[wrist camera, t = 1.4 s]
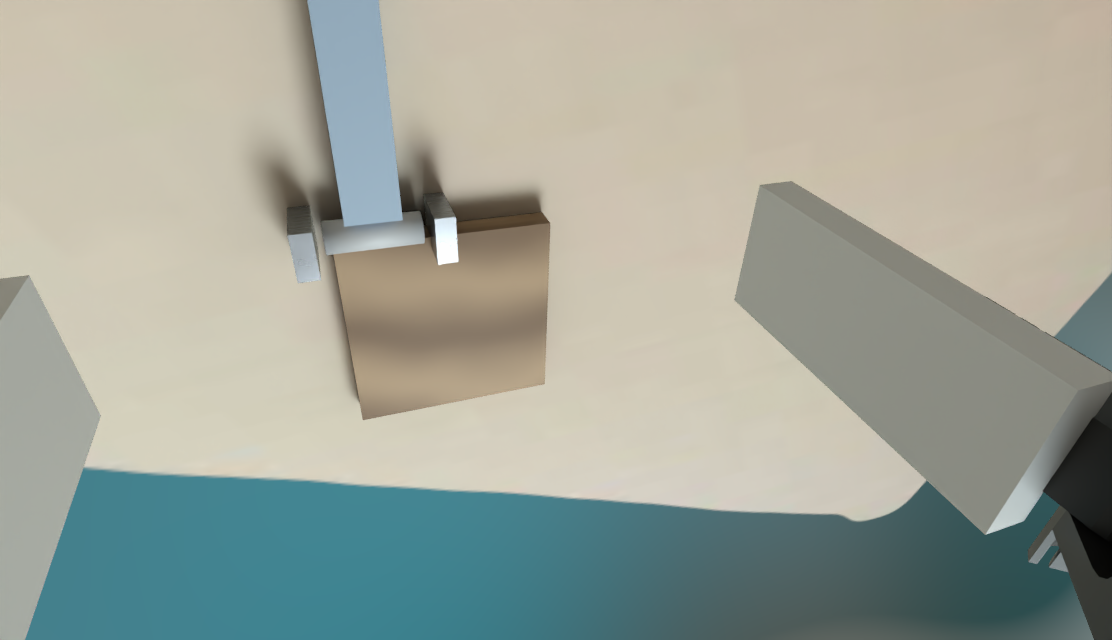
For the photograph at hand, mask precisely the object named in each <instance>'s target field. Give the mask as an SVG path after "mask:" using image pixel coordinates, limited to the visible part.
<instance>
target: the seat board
mask: <svg viewBox="0 0 1112 640" xmlns="http://www.w3.org/2000/svg"><path fill="white" fill-rule="evenodd" d="M456 228H457V246H458V262H454V263H446V264H439V265H438V263H437V261H436V258H435V256H434V253H433V251H432V244H431V236H430V234H429V231H428V229H427V227H426V226H424V234H425V243H423V244H415V245H406V246H398V247H390V248H382V249H374V250H365V251H357V252H349V253H341V254H333V255H334V261H335V266H336V272H337V278H338V283H339V289H340V294H341V300H342V306H343V311H344V317H345V322H346V328H347V334H348V339H349V345H350V350H351V356H352V362H353V367H354V373H355V378H356V384H357V390H358V395H359V401H360V406H361V412H362V418H363V420H366V419H371V418H376V417H381V416H386V415H391V414H396V413H401V412H406V411H411V410H416V409H421V408H426V407H431V406H436V405H442V404H447V403H452V402H457V401H462V400H467V399H472V398H477V397H482V396H487V395H492V394H497V393H502V392H507V391H512V390H517V389H522V388H527V387H532V386H537V385H542V384H545V358H546V329H547V301H548V272H549V244H550V222H549V221H548V220H547V218H546V217H545V216H544V215H543V213H542V212H541V213H532V214H523V215H514V216H505V217H497V218H488V219H479V220H470V221H461V222H456Z"/></svg>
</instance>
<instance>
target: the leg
mask: <svg viewBox="0 0 1112 640" xmlns="http://www.w3.org/2000/svg"><path fill="white" fill-rule="evenodd" d="M307 3H308V9H309V15H310V21H311V27H312V33H313V40H314V46H315V52H316V58H317V64H318V70H319V76H320V82H321V88H322V95H323V101H324V107H325V113H326V119H327V125H328V131H329V137H330V144H331V150H332V156H333V162H334V168H335V174H336V180H337V186H338V192H339V199H340V205H341V210H342V216H343V219H337V220H328V221H321V227H322V234H323V240H324V245H325V250H326V255H332V254H341V253H349V252H357V251H365V250H374V249H382V248H390V247H398V246H406V245H415V244H423V243H425V234H424V226H423V220H422V216H421V213H420V211H413V212H403V213H402V208H401V199H400V190H399V181H398V172H397V163H396V154H395V145H394V136H393V127H392V118H391V109H390V100H389V91H388V82H387V73H386V64H385V55H384V46H383V37H382V28H381V19H380V10H379V1H378V0H307Z"/></svg>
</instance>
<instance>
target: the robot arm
mask: <svg viewBox="0 0 1112 640" xmlns="http://www.w3.org/2000/svg"><path fill="white" fill-rule="evenodd" d="M735 301H736V302H737V303H738V304H739V305H740V306H741V307H742V308H743V309H744V310H745V311H747V312H748V313H749V314H750V315H751V316H752V317H753V318H754V319H755V320H756V321H757V322H758V323H759V324H760V325H762V326H763V327H764V328H765V329H766V330H767V331H768V332H769V333H770V334H771V335H772V336H773V337H774V338H775V339H777V340H778V341H779V342H780V343H781V344H782V345H783V346H784V347H785V348H786V349H787V350H788V351H789V352H790V353H791V354H793V355H794V356H795V357H796V358H797V359H798V360H799V361H800V362H801V363H802V364H803V365H804V366H805V367H806V368H808V369H809V370H810V371H811V372H812V373H813V374H814V375H815V376H816V377H817V378H818V379H819V380H820V381H821V382H822V383H824V384H825V385H826V386H827V387H828V388H829V389H830V390H831V391H832V392H833V393H834V394H835V395H836V396H837V397H839V398H840V399H841V400H842V401H843V402H844V403H845V404H846V405H847V406H848V407H849V408H850V409H851V410H852V411H853V412H855V413H856V414H857V415H858V416H859V417H860V418H861V419H862V420H863V421H864V422H865V423H866V424H867V425H868V426H870V427H871V428H872V429H873V430H874V431H875V432H876V433H877V434H878V435H879V436H880V437H881V438H882V439H883V440H885V441H886V442H887V443H888V444H889V445H890V446H891V447H892V448H893V449H894V450H895V451H896V452H897V453H898V454H899V455H901V456H902V457H903V458H904V459H905V460H906V461H907V462H908V463H909V464H910V465H911V466H912V467H913V468H914V469H916V470H917V471H918V472H919V473H920V474H921V475H922V476H923V477H924V478H925V479H926V480H927V481H928V482H929V483H930V484H932V485H933V486H934V487H935V488H936V489H937V490H938V491H939V492H940V493H941V494H942V495H943V496H944V497H945V498H947V499H948V500H949V501H950V502H951V503H952V504H953V505H954V506H955V507H956V508H957V509H958V510H959V511H961V512H962V513H963V514H964V515H965V516H966V517H967V518H968V519H969V520H970V521H971V522H972V523H973V524H974V525H976V527H978V528H979V529H980V530H981V531H982V532H983V533H984V534H985V535H986V534H989V533H991V532H994V531H997V530H1000V529H1003V528H1005V527H1008V526H1011V525H1014V524H1017V523H1020V522H1023V521H1024V520H1025V518H1026V517H1027V515H1028V514H1029V512H1030V511H1031V509H1032V508H1033V507H1034V505H1035V503H1036V502H1037V501H1038V499H1039V498H1040V496H1041V495H1042V493H1043V492H1045V493H1046V494H1047V495H1048V496H1049V497H1051V498H1052V499H1053V500H1054V501H1056V502H1057V503H1058V504H1059V505H1060V506H1059V507H1058V509H1057V510H1056V512H1055V513H1054V514H1053V516H1052V517H1051V519H1050V520H1049V522H1048V523H1047V524H1046V526H1045V527H1044V529H1043V530H1042V531H1041V533H1040V534H1039V535H1038V537H1037V538H1036V539H1035V541H1034V542H1033V544H1032V545H1031V547H1030V548H1029V549H1028V561H1029V562H1032V563H1035V564H1037V563H1038V562H1039V560H1040V559H1041V558H1042V557H1043V555H1044V554H1045V553H1046V551H1047V550H1048V548H1049V547H1050V546H1059V550H1058V551H1057V552H1056V554H1055V555H1054V556H1053V557H1052V559H1051V561H1050V563H1049V567H1050V568H1055V569H1058V570H1062V571H1066V572H1069V575H1070V577H1071V580H1072V583H1073V585H1074V588H1075V591H1076V593H1077V596H1078V599H1079V601H1080V604H1081V606H1082V609H1083V612H1084V614H1085V617H1086V619H1087V622H1088V625H1089V627H1090V630H1091V633H1092V635H1093V638H1094V640H1112V372H1111V371H1110V370H1108V369H1106V368H1105V367H1103V366H1101V365H1100V364H1098V363H1096V362H1094V361H1093V360H1091V359H1090V358H1088V357H1086V356H1084V355H1083V354H1081V353H1080V352H1078V351H1076V350H1075V349H1073V348H1071V347H1069V346H1067V345H1066V344H1064V343H1063V342H1061V341H1059V340H1058V339H1056V338H1054V337H1053V336H1051V335H1049V334H1048V333H1046V332H1043V331H1042V330H1040V329H1039V328H1038V327H1036V326H1034V325H1033V324H1031V323H1029V322H1027V321H1026V320H1024V319H1022V318H1020V317H1018V316H1017V315H1015V314H1014V313H1012V312H1011V311H1009V310H1007V309H1006V308H1004V307H1002V306H1001V305H999V304H997V303H996V302H994V301H992V300H991V299H989V298H987V297H985V296H983V295H981V294H980V293H978V292H976V291H975V290H973V289H971V288H970V287H968V286H966V285H965V284H963V283H961V282H960V281H958V280H956V279H954V278H953V277H951V276H949V275H948V274H946V273H944V272H943V271H941V270H939V269H938V268H936V267H934V266H933V265H931V264H929V263H928V262H926V261H924V260H923V259H921V258H919V257H918V256H916V255H914V254H913V253H911V252H909V251H908V250H906V249H904V248H902V247H901V246H899V245H897V244H896V243H894V242H892V241H891V240H889V239H887V238H886V237H884V236H882V235H881V234H879V233H877V232H876V231H874V230H872V229H871V228H869V227H867V226H866V225H864V224H862V223H861V222H859V221H857V220H856V219H854V218H852V217H851V216H849V215H847V214H845V213H844V212H842V211H840V210H839V209H837V208H835V207H834V206H832V205H830V204H829V203H827V202H825V201H824V200H822V199H820V198H819V197H817V196H815V195H814V194H812V193H810V192H809V191H807V190H805V189H804V188H802V187H800V186H799V185H797V184H795V183H793V182H792V181H790V182H782V183H773V184H765V185H760V187H759V191H758V196H757V200H756V205H755V209H754V214H753V218H752V223H751V227H750V232H749V236H748V241H747V245H746V250H745V255H744V259H743V264H742V268H741V273H740V277H739V282H738V286H737V291H736V295H735ZM100 417H101V415H100V413H99V411H98V409H97V407H96V405H95V403H94V402H93V400H92V398H91V396H90V394H89V392H88V390H87V388H86V386H85V384H84V382H83V380H82V378H81V376H80V374H79V372H78V370H77V368H76V366H75V364H74V362H73V360H72V358H71V356H70V354H69V352H68V350H67V349H66V347H65V345H64V343H63V341H62V339H61V337H60V335H59V333H58V331H57V329H56V327H55V325H54V323H53V321H52V319H51V317H50V315H49V313H48V311H47V309H46V307H45V305H44V303H43V301H42V299H41V297H40V295H39V294H38V292H37V290H36V288H35V286H34V284H33V282H32V280H31V278H30V276H29V275H27V276H19V277H11V278H3V279H0V640H25V638H26V635H27V632H28V629H29V626H30V623H31V620H32V617H33V614H34V611H35V608H36V605H37V603H38V599H39V596H40V593H41V591H42V588H43V585H44V582H45V579H46V576H47V573H48V570H49V567H50V564H51V561H52V558H53V555H54V552H55V549H56V547H57V544H58V541H59V538H60V535H61V532H62V529H63V526H64V523H65V520H66V517H67V514H68V511H69V508H70V505H71V502H72V499H73V496H74V493H75V490H76V488H77V484H78V482H79V479H80V476H81V472H82V470H83V467H84V464H85V461H86V458H87V455H88V452H89V449H90V446H91V443H92V440H93V437H94V435H95V432H96V429H97V426H98V423H99V420H100Z"/></svg>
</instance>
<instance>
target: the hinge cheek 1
mask: <svg viewBox="0 0 1112 640" xmlns="http://www.w3.org/2000/svg"><path fill="white" fill-rule="evenodd" d="M287 236H288V240H289V245H290V249H291V254H292V258H293V263H294V267H295V272H296V277H297V281H298V283H303V282H310V281H318V280H321V275H320V264H319V254H318V247H317V242H316V237H315V232H314V227H313V221H312V216H311V211H310V206H302V207H292V208H287Z"/></svg>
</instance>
